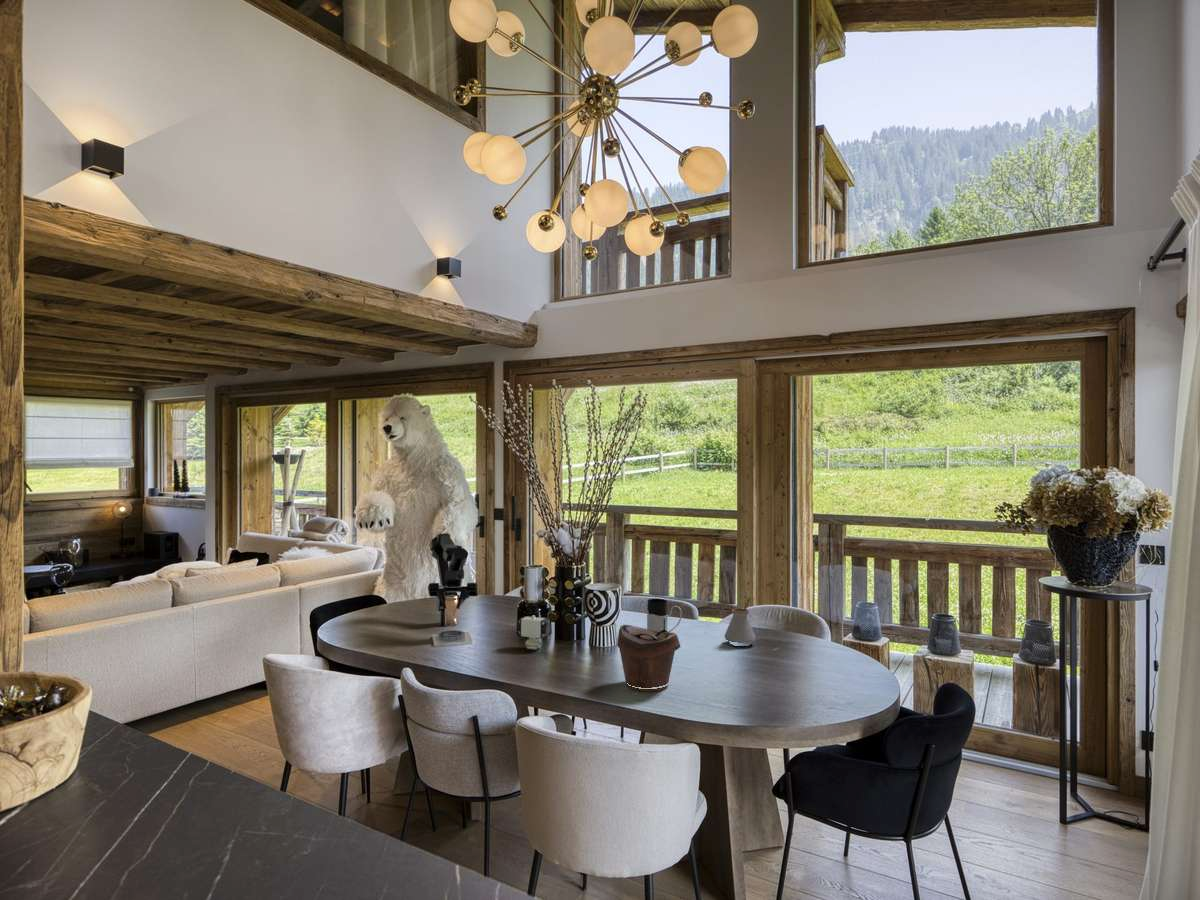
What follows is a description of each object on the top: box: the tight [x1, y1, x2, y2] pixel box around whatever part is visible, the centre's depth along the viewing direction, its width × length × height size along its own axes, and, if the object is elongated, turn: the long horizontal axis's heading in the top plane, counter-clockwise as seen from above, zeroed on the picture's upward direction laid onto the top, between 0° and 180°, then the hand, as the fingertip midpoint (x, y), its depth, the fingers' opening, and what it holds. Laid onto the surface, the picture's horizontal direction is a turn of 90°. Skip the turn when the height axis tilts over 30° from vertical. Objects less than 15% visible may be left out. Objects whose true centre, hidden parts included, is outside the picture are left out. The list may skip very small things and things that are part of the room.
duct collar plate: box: [431, 629, 473, 647], centre depth 263 cm, size 14×14×2 cm
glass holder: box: [646, 598, 683, 633], centre depth 264 cm, size 9×14×15 cm, turn 64°
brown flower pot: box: [617, 624, 681, 693], centre depth 212 cm, size 18×20×18 cm
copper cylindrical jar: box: [444, 594, 460, 628], centre depth 263 cm, size 5×5×11 cm
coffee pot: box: [724, 597, 757, 643], centre depth 263 cm, size 21×12×15 cm, turn 154°
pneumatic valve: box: [515, 615, 551, 651], centre depth 253 cm, size 6×12×12 cm, turn 72°
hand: (451, 608), depth 261 cm, fingers closed on copper cylindrical jar, 5 cm apart
